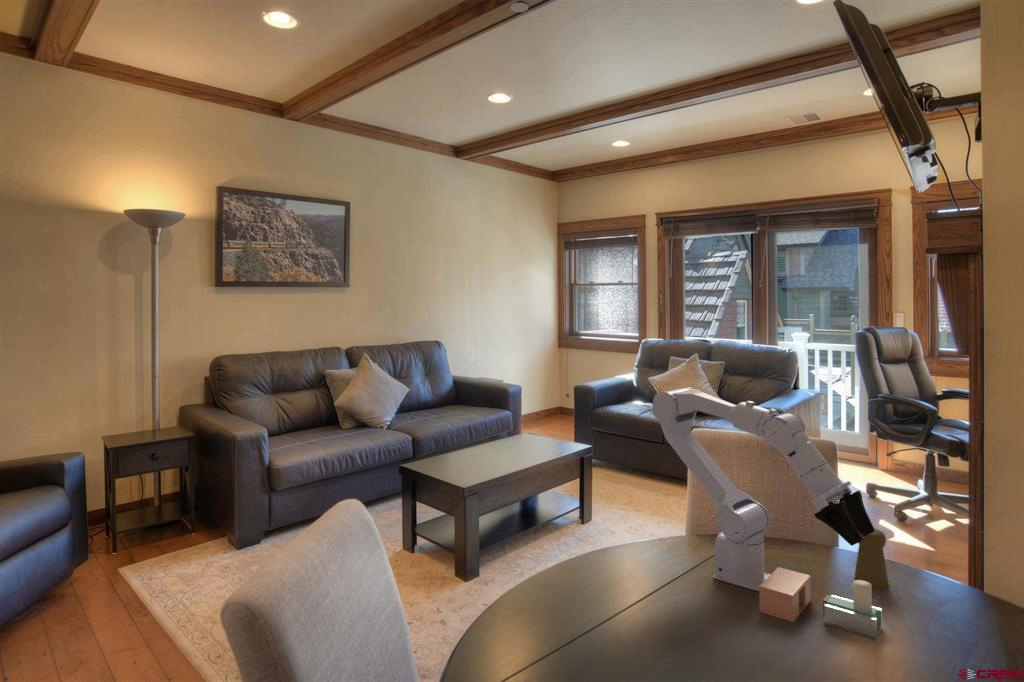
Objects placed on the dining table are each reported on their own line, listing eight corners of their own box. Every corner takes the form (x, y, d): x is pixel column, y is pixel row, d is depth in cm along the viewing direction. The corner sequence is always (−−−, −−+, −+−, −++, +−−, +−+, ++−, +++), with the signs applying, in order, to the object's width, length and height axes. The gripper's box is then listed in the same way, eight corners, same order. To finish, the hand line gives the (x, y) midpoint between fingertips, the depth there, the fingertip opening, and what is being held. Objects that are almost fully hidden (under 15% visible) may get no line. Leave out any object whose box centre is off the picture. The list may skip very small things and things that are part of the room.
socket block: (759, 611, 111) (759, 585, 111) (778, 591, 119) (778, 567, 118) (793, 622, 107) (792, 595, 107) (810, 600, 115) (810, 575, 114)
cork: (894, 590, 117) (893, 536, 116) (860, 588, 118) (860, 535, 118) (881, 576, 123) (881, 524, 122) (849, 574, 124) (849, 523, 123)
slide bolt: (823, 616, 107) (822, 577, 107) (827, 610, 109) (827, 571, 109) (873, 632, 102) (873, 590, 101) (877, 625, 104) (877, 584, 103)
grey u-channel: (824, 624, 106) (824, 605, 106) (832, 613, 110) (832, 594, 109) (875, 640, 101) (875, 620, 100) (882, 628, 104) (882, 608, 104)
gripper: (818, 465, 104) (872, 537, 98) (844, 455, 114) (894, 520, 108) (785, 484, 108) (835, 555, 102) (813, 473, 118) (860, 536, 112)
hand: (863, 538), depth 105 cm, fingers open, 7 cm apart
